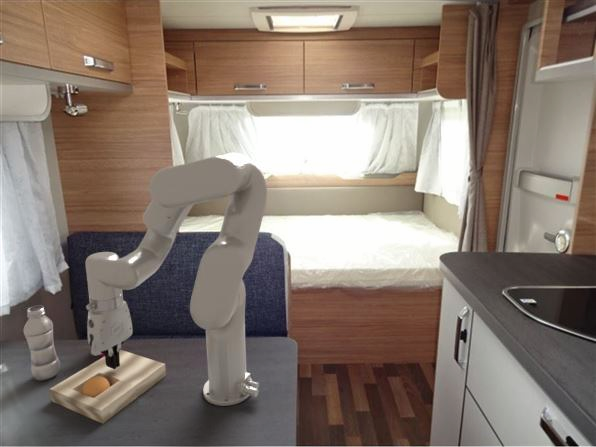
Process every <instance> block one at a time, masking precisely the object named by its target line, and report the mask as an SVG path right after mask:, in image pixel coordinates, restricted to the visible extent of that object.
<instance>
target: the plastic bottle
mask: <svg viewBox="0 0 596 447" xmlns="http://www.w3.org/2000/svg"><path fill="white" fill-rule="evenodd" d="M26 313H27V315H26V316H27V317H26V318H28V319H27V321H26V322H25V324H24V327H23V330H22V331H23V334H24V337H25V339H26V342H27V344H28V349H29V353H30V359H31V365H30V373H31V375H32V377H33V379H34V380H36V381H46V380H49V379H52V378H54V377H56V376H57V375H58V374H59V372H60V369H61V362H60V360H59V357H58V355H57V352H56V348H55V343H54V323H53V321H52V320H51V319H50V318H49V317H48V316H47V315H45V314H46V310H45V307H44V305H42V304H40V305H34V306H31V307H28V308H27V309H26Z"/></svg>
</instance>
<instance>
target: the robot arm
mask: <svg viewBox="0 0 596 447" xmlns="http://www.w3.org/2000/svg"><path fill="white" fill-rule="evenodd" d="M267 192H268V189H267V183H266V179H265V176H264V174H263V172H262V170H261V168H260V167H259V166H258V164H257V163H256V162H255V161H254V160H253V159H252V158H250V157H249V156H247V155H245V154H243V153H239V152H228V153H223V154H220V155H214V156H211V157H207V158H203V159H200V160H196V161H191V162H188V163H183V164H176V165H171V166H167V167H163V168H161V169H159V170H158V171H157V172H155V173H154V175H153V176H152V178H151V180H150V183H149V194H150V197H151V201H150V202H149V204H148V206H147V208H145V211H144V213H143V215H142V222H143V223H144V225H145V226H146V228H147V230H146V232H145V235H144V236H143V238H142V240H141V242H140V243H139V245H138V247H137V248H136V249H135V250H134V251H132V252H130V253H128V254H127V255H125V256H123V257H119V255H118V254H117V253H115V252H111V251H102V252H101V251H100V252H96V253H92V254H90V255H89V256H87V257H86V260H85V272H86V281H87V289H88V290H87V291H88V297H89V298H88V300H89V303H88V304H87V305H85V306H86V307H85V309H86V310H87V311H88V314H87V324H86V325H87V326H86V328H87V341H88V343H87V344H88V346H89V348H90V355H91V356H94V357H95V356H99V355H100V354H105V361H106V365H107V367H110V368H112V369H116V368H117V367H119V366H120V357H119V352H120V351H121V350H122V346H123V344H124V342H125V341H126V340H127V339H129V338H130V337H131V336H132V335H133V323H132V322H133V321H132V317H131V314H130V313H131V312H130V309H129V307H128V304H127V301H126V300H124V296H123V295H124V294H123V291H128V290H133V289H136V288H137V287H138V286H140V285H141V284H142V283H144V282H145V281H146V280H147V279H149V278H150V277H151V276H153V274H155V273H156V272H157V271H158V270H159V269H160V267H161V265H162V264H163V263H164V261H165V259H166V258H167V256H168V255H169V253H170V251H171V250H172V247H173V244H174V243H175V240H176V238H177V234H178V231H179V229H180V228H181V226H182V224H183V223H184V221H185V219H186V218H187V216H188V215H189V213H190V211H191V210H192V208H193V206H194V205H197V204H201V203H206V202H210V201H211V202H212V201H215V200H219V199H220V200H221V199H223V198H227V197H229V200H228V204H227V207H226V209H225V213H224V216H223V222H222V226H221V229H220V231H219V235H218V237H217V238H216V239H215V241H214V242H212V243H211V244H210V245H209V246H208V247H207V248H206V250H205V251H204V252H203V255H202V257H201V259H200V262H199V265H198V269H197V273H196V277H195V281H194V285H193V289H192V294H191V298H190V303H189V311H190V312H189V313H190V315H191V318H192V320H193V321H194V323H195V324H196V326H198V327H199V328H201V329H203V330H205V343H206V358H207V374H208V375H207V376H208V380H207V381H206V382H205V383H204V385H203V387H202V393H203V397H204V399H205V400H206V401H207V402H208V403H210V404H213V405H215V406H221V407H226V406H227V407H228V406H234V405H237V404H239V403H242V402H243V401H246V400H247V399H248V398H249V397H251V396H252V397H255V398H257V396H258V394H259V393H260V392H259V391H260V390H259V387H260V383H259V382H256V381H253V379H252V378H251V373H250V372H247V354H246V323H245V322H246V319H245V318H246V317H245V316H246V298H247V296H246V295H247V292H246V285H245V282H244V280H243V277H244V275H245V273H246V271H247V270H248V268H249V266H250V265H251V263H252V262H253V259H254V258H253V257H254V254H255V250H256V245H257V241H258V237H259V234H260V229H261V225H262V221H263V218H264V213H265V210H266V205H267V200H268V199H267V197H268V193H267Z"/></svg>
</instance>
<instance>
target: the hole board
mask: <svg viewBox="0 0 596 447" xmlns="http://www.w3.org/2000/svg"><path fill="white" fill-rule="evenodd" d="M119 357H120V366H119V367H117V368H116V369H112V368H110V367H107V365H106V361H105V356H102V357H101V358H99V359H98V360H96V361H94V362H93V363H91V364H89V365H87V366H86V367H85V368H83V369H81V370H79V371H77V372H76V373H74V374H72V375H71V376H69V377H68V378H66V379H63V380H62V381H60V382H59V383H57V384H55V385H54V386H52V387H50V388H49V393H50V398H51V402H53V403H55V404H57V405H60V406H62V407H63V408H66V409H69V410H71V411H73V412H75V413H78V414H80V415H82V416H84V417H86V418H89V419H91V420H93V421H96V422H98V423H101V424H104V423H106V422H107V421H108V420H110V419H111V418H112V417H115V415H116V414H118V413H119V412H120V411H121V410H123V409H124V408H125V407H127V406H128V405H130V404H131V403H132V402H133V401H135V400H136V399H137V398H138V397H140V396H141V395H143V394H144V393H145V392H146V391H148V390H149V389H151V387H153V386H154V385H155V384H157V383H158V382H159V381H161V380H162V379H164V378H165V377H166V376H167V370H166V363H164V362H160V361H157V360H155V359H150V358H148V357H144V356H141V355H138V354H135V353H132V352H129V351H126V350H123V349H121V351H120V352H119ZM96 376H101V377H104V378H106V379H107V380H108V382H109V384H110V387H109V388H108V389H106V390H105V391H103V392H102V393H101V394H99V395H98V396H96V397H95V398H92V397H90V396H87V395H85V394H83V387H84V385H85V383H86V382H87V381H88V380H89V379H91V378H93V377H96Z"/></svg>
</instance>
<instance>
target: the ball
mask: <svg viewBox="0 0 596 447" xmlns="http://www.w3.org/2000/svg"><path fill="white" fill-rule="evenodd" d="M109 387H110V384H109V382H108V380H107V379H106V378H104V377H101V376H96V377H93V378H91V379H89V380H88V381H87V382H86V383H85V385H84V387H83V394H85V395H87V396H90V397H92V398H95V397H96V396H98V395H99V394H101V393H102V392H103V391H105V390H106V389H108V388H109Z"/></svg>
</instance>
